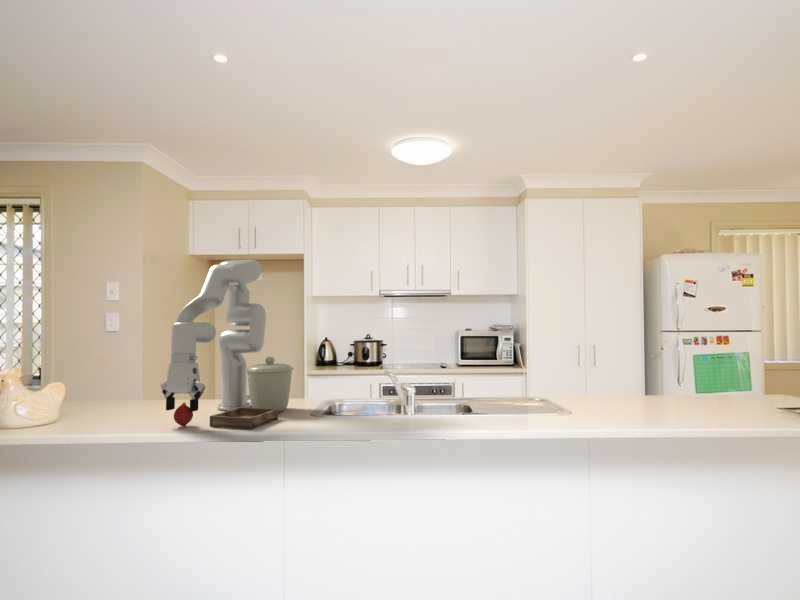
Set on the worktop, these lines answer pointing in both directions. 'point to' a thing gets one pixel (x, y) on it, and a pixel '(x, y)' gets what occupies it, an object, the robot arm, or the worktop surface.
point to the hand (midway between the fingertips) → (182, 410)
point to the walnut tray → (244, 418)
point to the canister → (269, 384)
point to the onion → (183, 415)
